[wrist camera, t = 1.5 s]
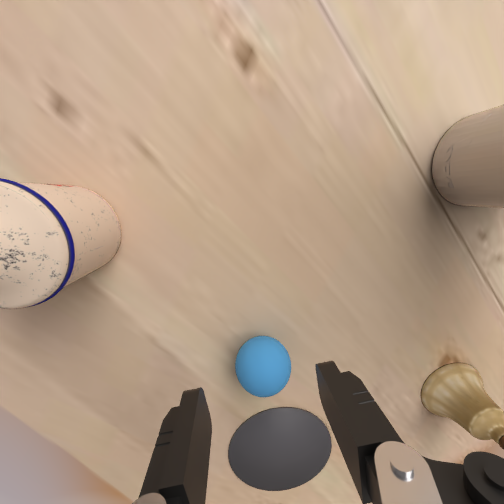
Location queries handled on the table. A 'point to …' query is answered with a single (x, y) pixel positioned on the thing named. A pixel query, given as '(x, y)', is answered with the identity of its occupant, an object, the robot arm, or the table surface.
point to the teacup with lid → (51, 239)
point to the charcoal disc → (279, 449)
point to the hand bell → (464, 401)
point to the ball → (263, 366)
